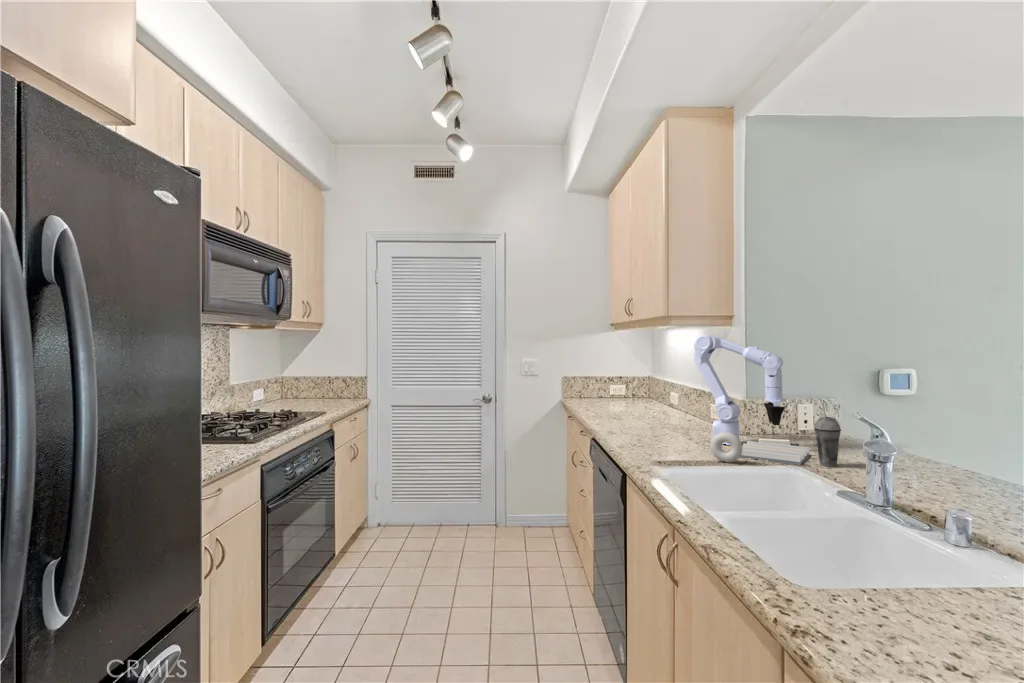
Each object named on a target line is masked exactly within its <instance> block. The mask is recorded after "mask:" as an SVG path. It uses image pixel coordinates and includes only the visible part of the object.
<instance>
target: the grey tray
mask: <svg viewBox="0 0 1024 683" xmlns="http://www.w3.org/2000/svg"><path fill="white" fill-rule="evenodd" d="M742 448H743V450H742V454H741V456H740V457H741V458H740V459H745V458H751V459H750V460H753V459H761V460H768V461H767V462H770V461H774V462H773V463H778V462H780V464H786V465H794V464H795V466H801V465H803V463H804V462H805V461H806V460H807V459H808V458H807V457H808V456H809V457H810V452H811V451H810V447H808V446H802V445H801V446H800V445H799V446H791V445H781V444H772V443H762V442H759V441H753V440H752V441H750V440H749V441H746V443H742ZM806 458H807V459H806ZM761 460H760V461H761Z"/></svg>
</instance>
